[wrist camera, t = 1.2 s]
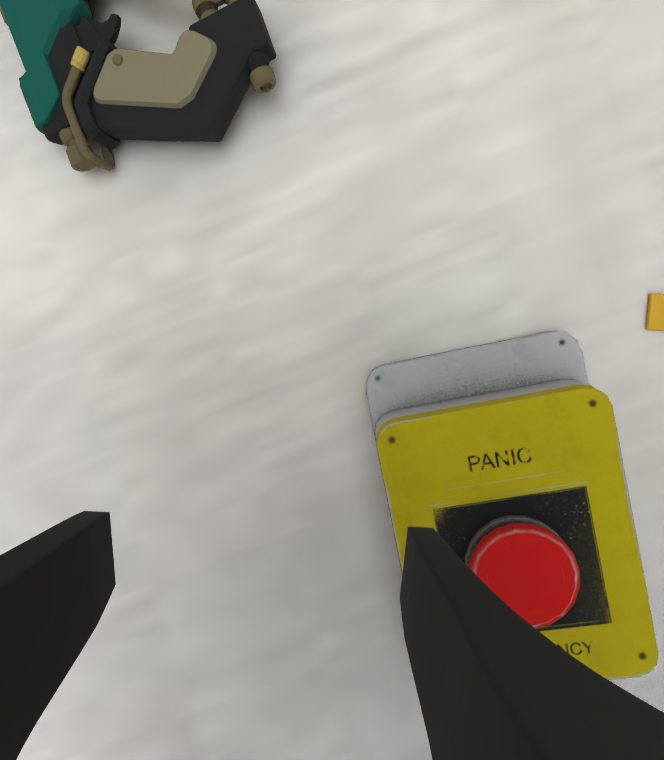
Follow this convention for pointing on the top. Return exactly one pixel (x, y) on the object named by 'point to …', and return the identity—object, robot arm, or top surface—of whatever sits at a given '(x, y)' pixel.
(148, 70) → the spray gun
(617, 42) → the top surface
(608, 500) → the emergency button
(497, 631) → the robot arm
